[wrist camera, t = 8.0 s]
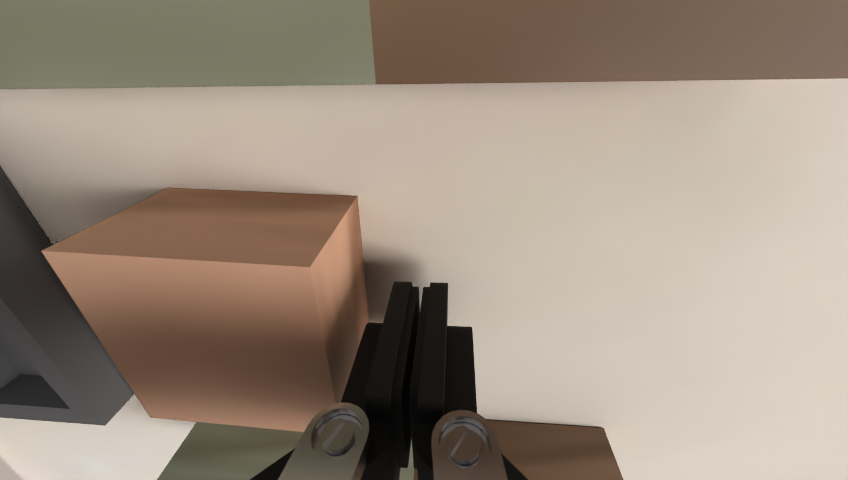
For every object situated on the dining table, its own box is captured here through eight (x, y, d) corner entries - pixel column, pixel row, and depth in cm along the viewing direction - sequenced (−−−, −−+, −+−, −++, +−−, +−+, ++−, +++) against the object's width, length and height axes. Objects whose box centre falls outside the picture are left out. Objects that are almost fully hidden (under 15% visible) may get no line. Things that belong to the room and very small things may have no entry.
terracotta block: (174, 184, 11) (41, 251, 7) (359, 193, 10) (309, 267, 7) (227, 324, 14) (150, 417, 10) (371, 334, 13) (341, 435, 10)
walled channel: (0, 4, 8) (-260, -20, 5) (792, -25, 7) (1054, -79, 4) (221, 421, 17) (170, 503, 14) (594, 448, 15) (628, 546, 12)
